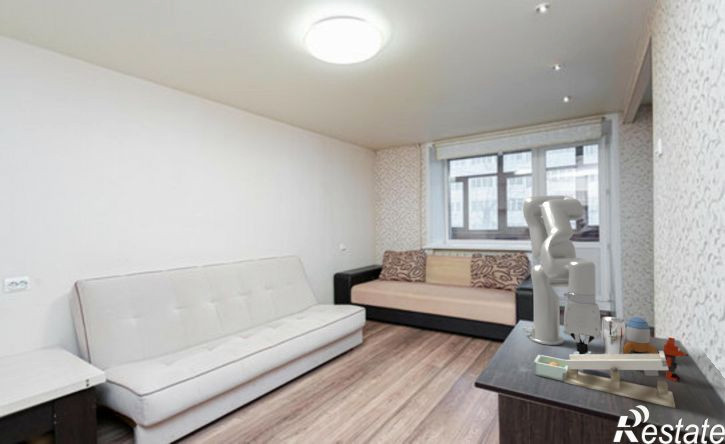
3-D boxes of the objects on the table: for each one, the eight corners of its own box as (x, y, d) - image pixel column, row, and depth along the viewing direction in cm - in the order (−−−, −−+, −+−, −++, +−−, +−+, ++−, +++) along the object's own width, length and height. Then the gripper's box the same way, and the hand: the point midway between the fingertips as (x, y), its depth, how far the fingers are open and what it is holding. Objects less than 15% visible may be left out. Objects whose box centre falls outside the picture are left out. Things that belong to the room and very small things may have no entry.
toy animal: (686, 386, 107) (686, 346, 107) (662, 380, 111) (662, 341, 111) (688, 377, 112) (688, 339, 112) (666, 372, 116) (666, 335, 116)
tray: (533, 374, 116) (533, 362, 116) (538, 366, 122) (538, 354, 122) (565, 381, 110) (565, 368, 110) (568, 372, 117) (568, 360, 117)
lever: (570, 375, 110) (566, 357, 111) (576, 360, 122) (572, 344, 123) (670, 377, 96) (665, 357, 97) (666, 359, 108) (661, 342, 109)
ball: (545, 367, 116) (553, 362, 114) (547, 364, 118) (554, 358, 117) (553, 376, 114) (561, 370, 113) (555, 372, 117) (562, 367, 116)
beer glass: (630, 366, 121) (630, 322, 121) (607, 365, 122) (607, 321, 122) (619, 358, 128) (619, 316, 128) (598, 357, 129) (598, 316, 129)
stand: (563, 382, 110) (563, 357, 110) (567, 371, 118) (567, 348, 118) (675, 408, 94) (675, 380, 94) (671, 393, 102) (671, 367, 102)
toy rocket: (626, 351, 137) (637, 314, 136) (660, 365, 128) (672, 325, 127) (615, 353, 132) (625, 314, 130) (649, 368, 123) (661, 326, 122)
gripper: (554, 297, 119) (554, 353, 119) (609, 303, 110) (609, 363, 110) (558, 294, 125) (558, 346, 125) (610, 299, 116) (610, 355, 116)
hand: (582, 354), depth 117 cm, fingers closed
